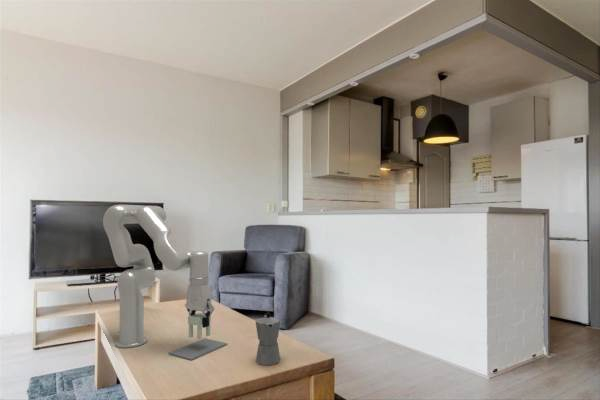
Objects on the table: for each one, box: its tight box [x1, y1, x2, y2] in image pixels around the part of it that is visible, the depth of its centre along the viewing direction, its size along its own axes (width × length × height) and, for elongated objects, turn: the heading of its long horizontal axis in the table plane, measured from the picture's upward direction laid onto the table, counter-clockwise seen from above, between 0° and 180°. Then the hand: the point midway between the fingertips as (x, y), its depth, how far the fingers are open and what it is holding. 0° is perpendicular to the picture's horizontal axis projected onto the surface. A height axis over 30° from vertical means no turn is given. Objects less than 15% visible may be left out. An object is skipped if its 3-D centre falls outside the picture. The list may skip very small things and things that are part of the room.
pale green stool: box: [187, 312, 212, 340], centre depth 154 cm, size 6×6×8 cm
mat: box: [167, 337, 228, 362], centre depth 153 cm, size 13×20×1 cm, turn 149°
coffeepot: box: [255, 312, 281, 367], centre depth 142 cm, size 15×9×18 cm, turn 13°
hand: (199, 325), depth 154 cm, fingers closed on pale green stool, 6 cm apart
